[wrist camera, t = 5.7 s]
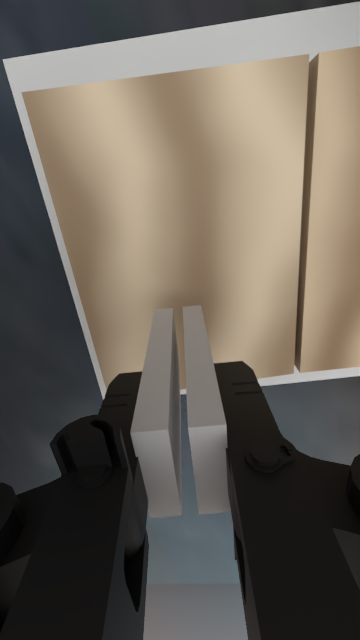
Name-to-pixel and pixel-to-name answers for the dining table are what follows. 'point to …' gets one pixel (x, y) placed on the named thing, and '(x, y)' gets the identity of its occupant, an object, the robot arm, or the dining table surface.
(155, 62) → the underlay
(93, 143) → the plank
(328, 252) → the laid section
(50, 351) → the dining table surface
